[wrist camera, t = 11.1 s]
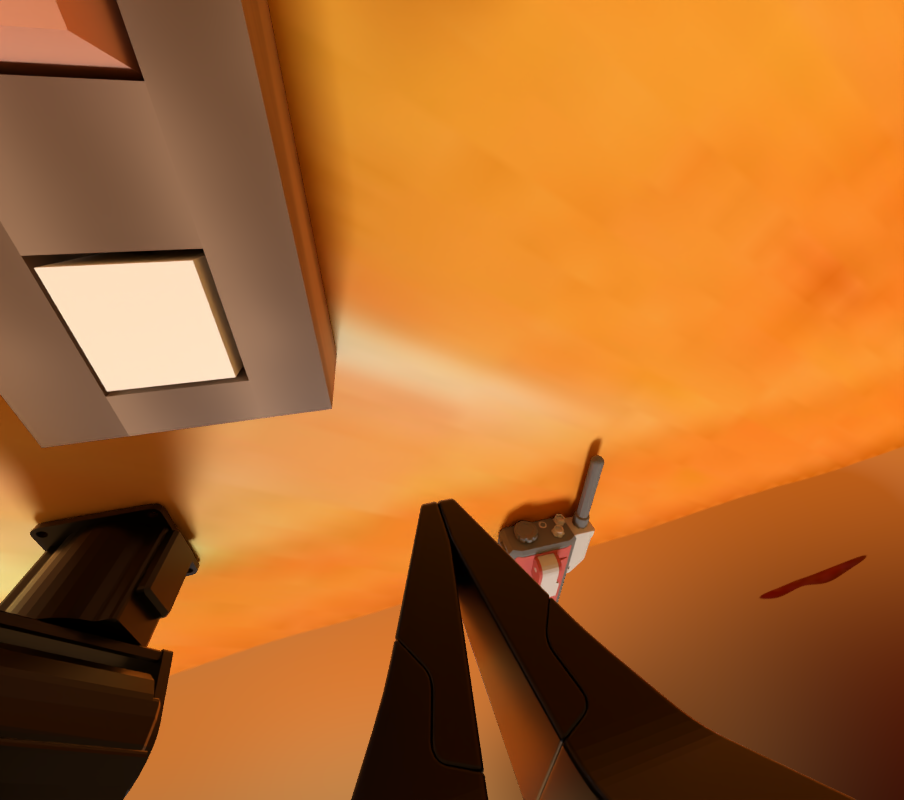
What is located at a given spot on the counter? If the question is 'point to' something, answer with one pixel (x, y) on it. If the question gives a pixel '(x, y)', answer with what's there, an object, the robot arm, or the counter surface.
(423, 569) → the robot arm
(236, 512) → the counter surface
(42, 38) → the plug terracotta
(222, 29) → the socket board
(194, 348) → the cream plug
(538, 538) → the walkie-talkie
